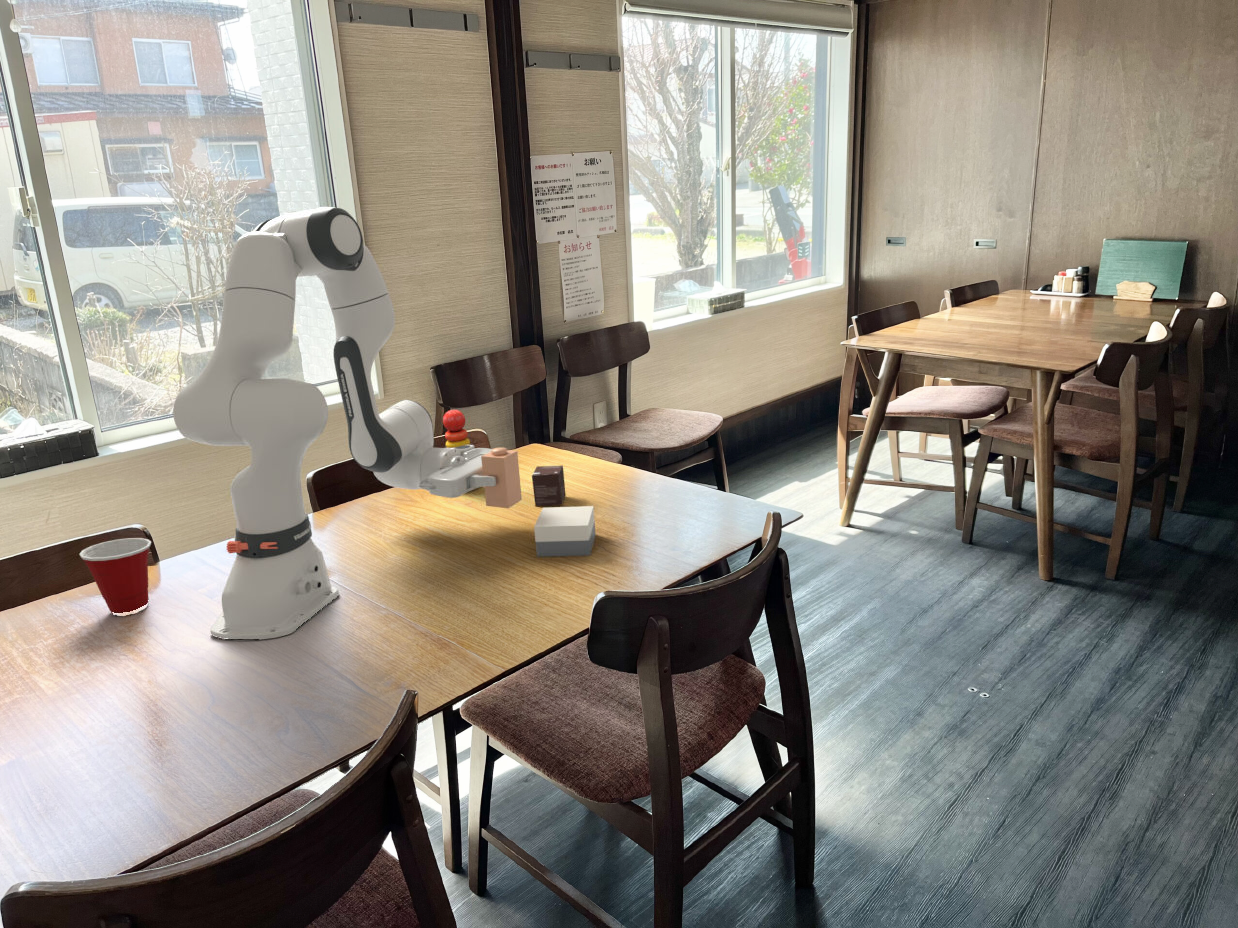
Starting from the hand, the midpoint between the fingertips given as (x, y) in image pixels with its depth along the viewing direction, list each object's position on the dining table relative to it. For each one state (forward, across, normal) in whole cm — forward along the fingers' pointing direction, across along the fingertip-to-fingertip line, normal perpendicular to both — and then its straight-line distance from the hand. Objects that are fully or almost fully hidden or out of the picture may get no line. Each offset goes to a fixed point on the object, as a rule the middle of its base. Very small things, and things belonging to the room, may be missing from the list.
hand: (505, 476), depth 172 cm
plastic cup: (-50, -46, +14) cm, 69 cm away
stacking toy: (-28, +25, +13) cm, 39 cm away
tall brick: (-1, 0, +6) cm, 6 cm away
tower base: (+12, +1, +13) cm, 18 cm away
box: (-3, +22, +13) cm, 26 cm away
